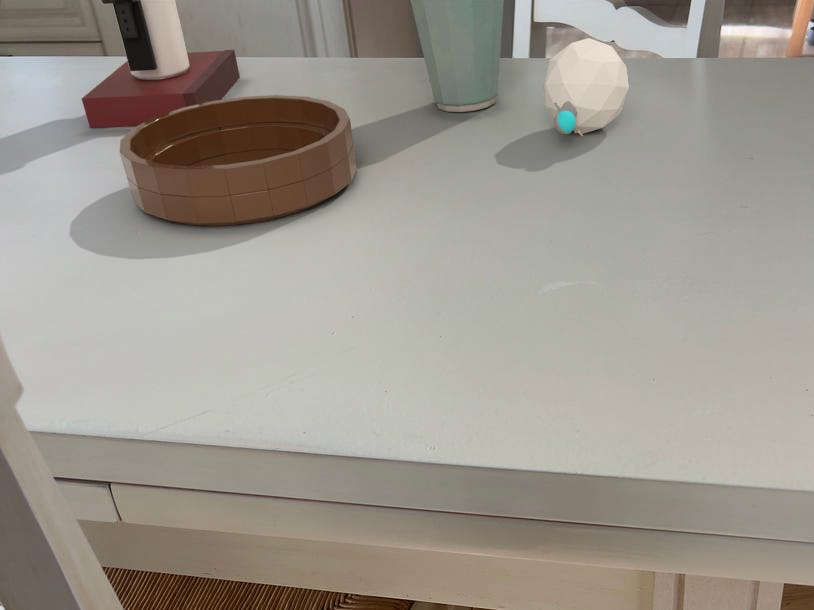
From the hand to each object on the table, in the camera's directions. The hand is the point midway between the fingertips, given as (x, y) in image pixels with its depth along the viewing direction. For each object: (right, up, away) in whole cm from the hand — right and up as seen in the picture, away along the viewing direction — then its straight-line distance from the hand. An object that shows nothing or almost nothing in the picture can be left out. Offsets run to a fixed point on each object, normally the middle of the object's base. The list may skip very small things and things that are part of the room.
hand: (157, 57), depth 111 cm
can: (0, -1, +1) cm, 2 cm away
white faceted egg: (+45, -15, -15) cm, 50 cm away
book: (0, -3, +3) cm, 5 cm away
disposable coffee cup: (+34, -7, -4) cm, 35 cm away
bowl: (+15, -21, -20) cm, 33 cm away
